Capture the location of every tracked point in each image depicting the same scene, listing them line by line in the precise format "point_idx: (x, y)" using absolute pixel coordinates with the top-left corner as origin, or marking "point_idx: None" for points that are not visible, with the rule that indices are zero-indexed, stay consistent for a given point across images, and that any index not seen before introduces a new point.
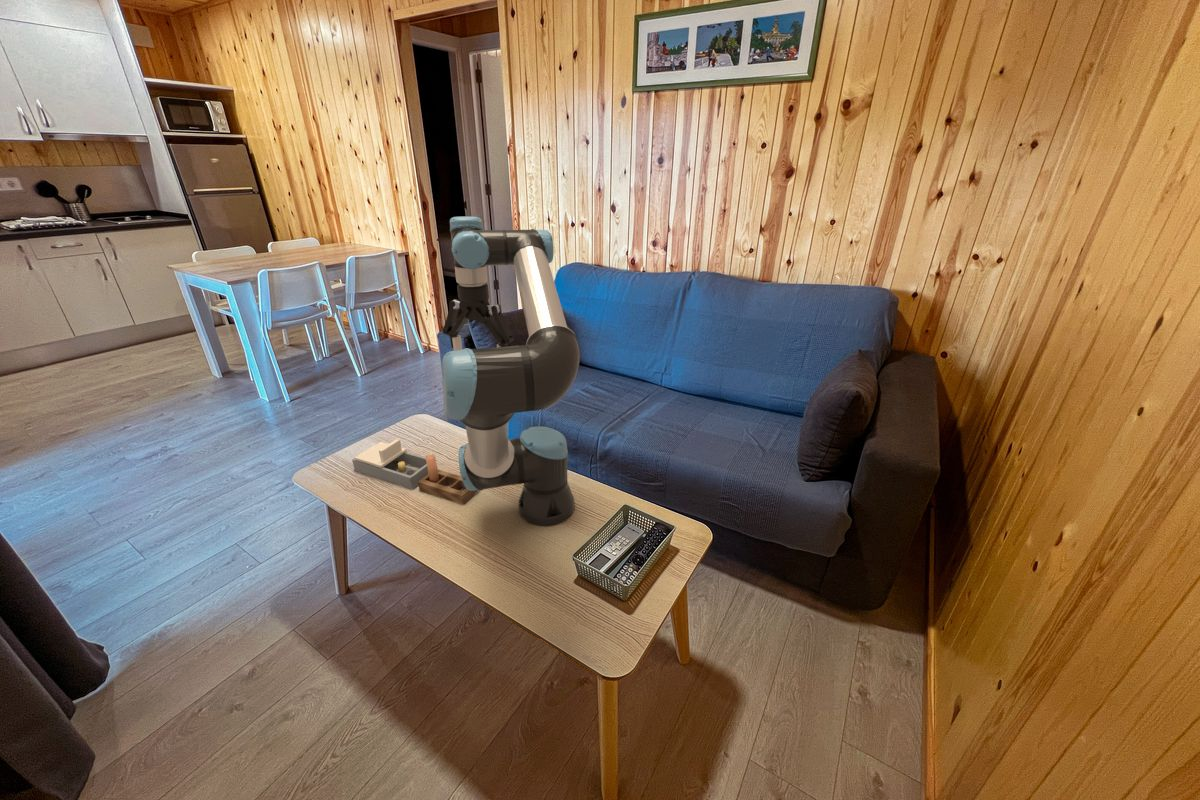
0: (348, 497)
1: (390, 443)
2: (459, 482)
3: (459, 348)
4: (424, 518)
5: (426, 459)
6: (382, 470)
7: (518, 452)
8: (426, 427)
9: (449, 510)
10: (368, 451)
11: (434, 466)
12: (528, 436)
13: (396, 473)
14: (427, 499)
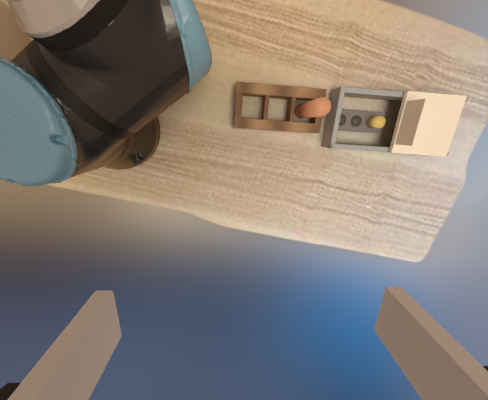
0: (418, 34)
1: (422, 129)
2: (263, 117)
3: (431, 379)
4: (274, 32)
5: (325, 97)
6: (399, 92)
7: (33, 48)
8: (397, 240)
9: (249, 65)
10: (451, 121)
11: (308, 105)
12: (16, 98)
13: (371, 89)
14: (296, 77)
